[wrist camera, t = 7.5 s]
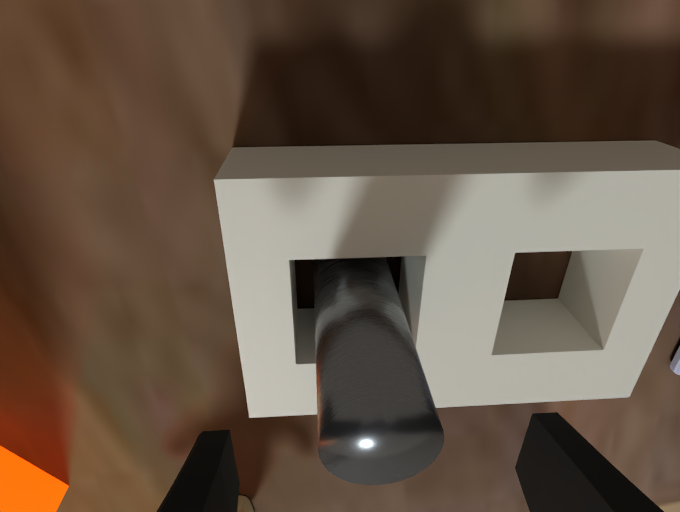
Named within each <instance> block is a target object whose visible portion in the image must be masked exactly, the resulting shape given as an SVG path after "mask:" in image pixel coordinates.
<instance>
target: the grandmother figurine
mask: <svg viewBox="0 0 680 512" xmlns="http://www.w3.org/2000/svg"><path fill="white" fill-rule="evenodd" d="M237 512H254V510H253V507H252V505H251V502H250V500H249V499H248V498H247V497H245V496H242V495H239V497H238V508H237Z"/></svg>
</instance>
